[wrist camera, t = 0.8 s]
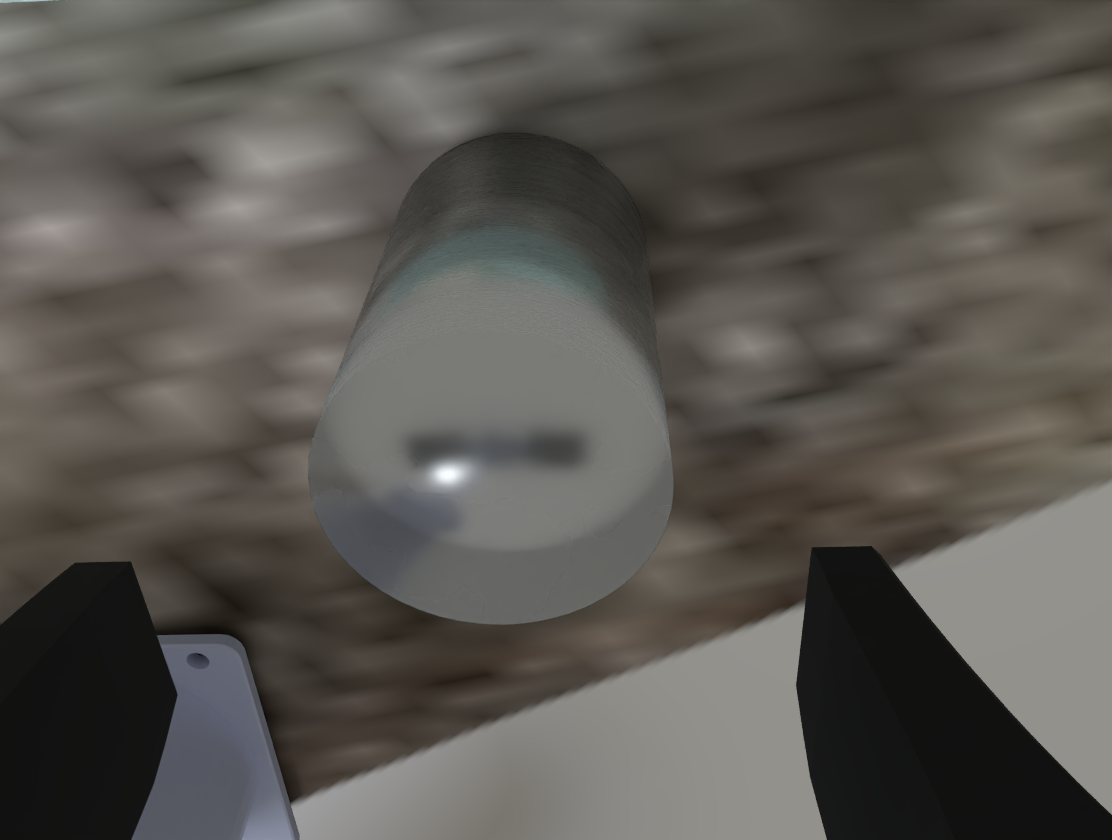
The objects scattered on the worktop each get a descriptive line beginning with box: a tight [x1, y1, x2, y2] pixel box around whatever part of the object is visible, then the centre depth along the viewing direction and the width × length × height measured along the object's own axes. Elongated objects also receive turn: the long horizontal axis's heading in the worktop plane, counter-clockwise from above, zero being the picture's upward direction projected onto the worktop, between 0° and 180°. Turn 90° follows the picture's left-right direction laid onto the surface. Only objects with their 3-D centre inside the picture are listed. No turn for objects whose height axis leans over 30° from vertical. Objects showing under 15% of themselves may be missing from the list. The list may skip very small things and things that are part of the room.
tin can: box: [308, 133, 674, 625], centre depth 16 cm, size 5×5×7 cm
